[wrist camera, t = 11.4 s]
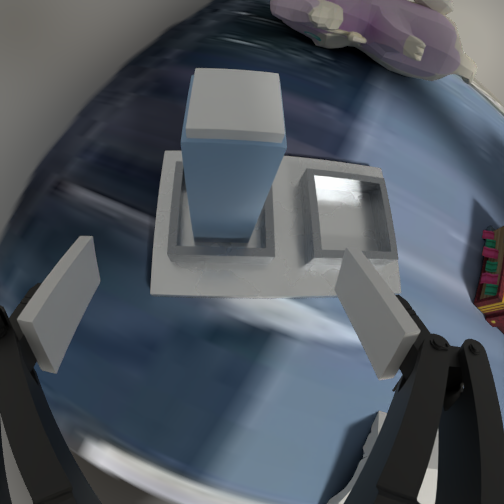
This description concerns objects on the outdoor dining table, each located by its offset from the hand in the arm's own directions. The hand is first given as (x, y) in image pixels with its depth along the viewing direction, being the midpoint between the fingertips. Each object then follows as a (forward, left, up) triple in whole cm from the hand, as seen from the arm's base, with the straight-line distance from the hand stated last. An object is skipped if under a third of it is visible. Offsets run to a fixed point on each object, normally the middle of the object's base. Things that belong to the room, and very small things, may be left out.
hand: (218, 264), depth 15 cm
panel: (-5, -5, -8) cm, 11 cm away
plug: (0, -5, -7) cm, 8 cm away
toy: (-20, -34, -8) cm, 40 cm away
